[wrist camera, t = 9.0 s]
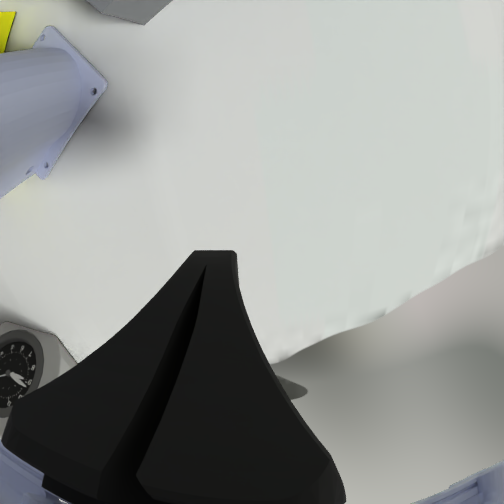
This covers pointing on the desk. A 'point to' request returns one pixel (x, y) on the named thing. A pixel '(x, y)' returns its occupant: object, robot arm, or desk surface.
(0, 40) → the yellow toy chassis
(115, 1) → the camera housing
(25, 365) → the alarm clock
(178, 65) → the desk surface
